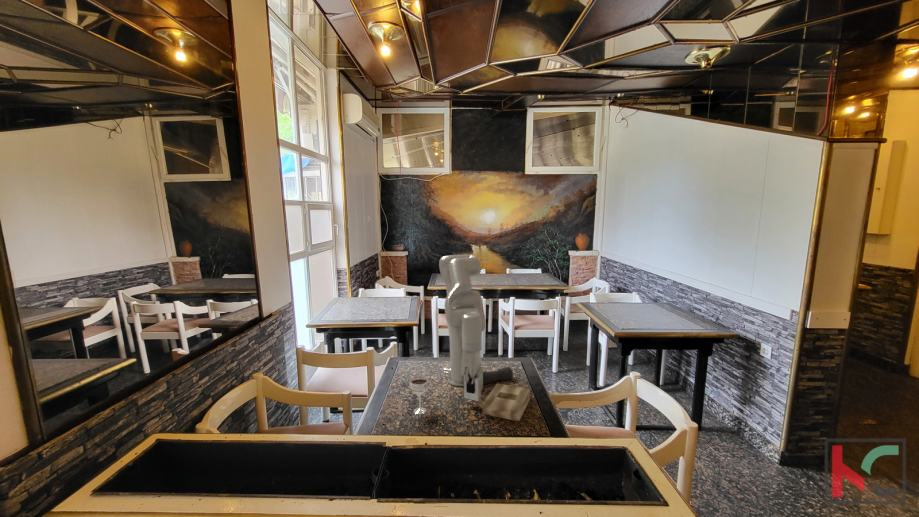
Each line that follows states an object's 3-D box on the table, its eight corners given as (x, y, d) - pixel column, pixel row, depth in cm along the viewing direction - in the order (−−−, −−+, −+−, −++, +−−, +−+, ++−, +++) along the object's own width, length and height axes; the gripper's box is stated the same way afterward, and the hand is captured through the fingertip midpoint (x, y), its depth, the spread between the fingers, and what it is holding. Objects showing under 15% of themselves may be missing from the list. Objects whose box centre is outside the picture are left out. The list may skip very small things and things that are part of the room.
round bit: (469, 390, 146) (469, 370, 145) (474, 385, 150) (473, 365, 149) (480, 392, 143) (480, 372, 143) (484, 387, 148) (484, 367, 147)
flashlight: (483, 386, 149) (483, 374, 149) (478, 381, 154) (478, 370, 154) (513, 380, 155) (513, 369, 154) (507, 375, 160) (507, 364, 159)
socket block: (482, 413, 127) (482, 403, 126) (497, 392, 143) (497, 383, 143) (519, 421, 121) (519, 410, 121) (530, 398, 137) (530, 389, 137)
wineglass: (421, 417, 125) (420, 386, 124) (407, 412, 129) (406, 382, 128) (432, 409, 131) (431, 379, 130) (418, 404, 134) (417, 375, 133)
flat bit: (463, 398, 132) (463, 376, 131) (466, 394, 135) (466, 372, 134) (478, 401, 130) (478, 378, 129) (480, 397, 132) (480, 375, 131)
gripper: (470, 337, 139) (471, 379, 141) (454, 351, 124) (454, 398, 126) (488, 339, 136) (488, 382, 138) (473, 354, 121) (473, 402, 123)
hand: (472, 390), depth 132 cm, fingers closed on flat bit, 3 cm apart
